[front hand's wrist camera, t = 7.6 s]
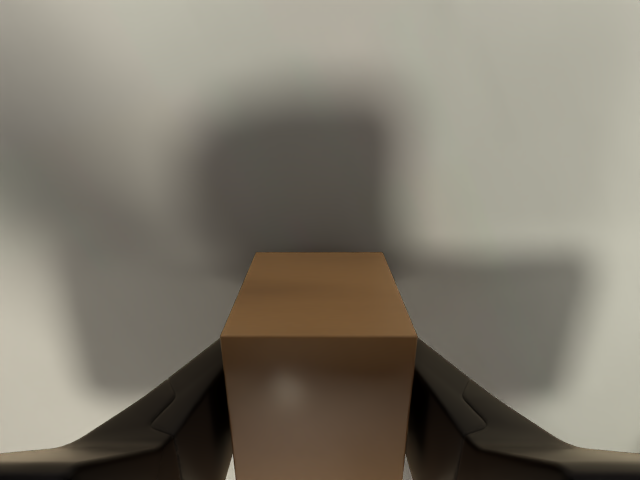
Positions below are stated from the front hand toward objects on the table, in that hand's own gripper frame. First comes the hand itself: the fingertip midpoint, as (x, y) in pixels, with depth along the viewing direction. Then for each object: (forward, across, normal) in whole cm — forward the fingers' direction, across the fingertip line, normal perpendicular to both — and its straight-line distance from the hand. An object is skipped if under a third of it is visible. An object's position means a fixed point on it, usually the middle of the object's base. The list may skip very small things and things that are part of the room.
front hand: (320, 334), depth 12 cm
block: (+1, 0, 0) cm, 1 cm away
